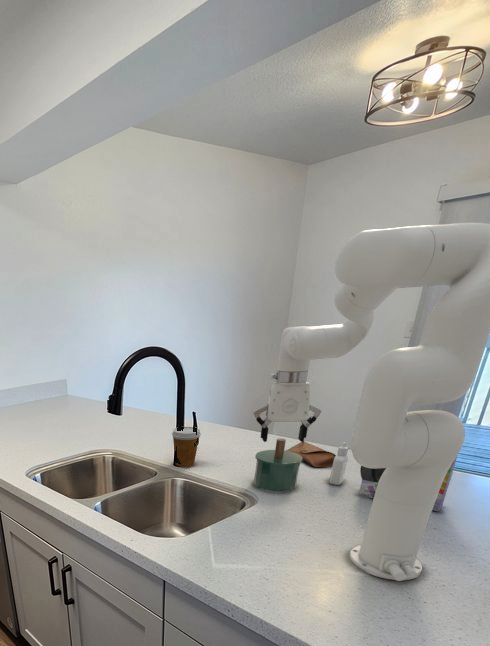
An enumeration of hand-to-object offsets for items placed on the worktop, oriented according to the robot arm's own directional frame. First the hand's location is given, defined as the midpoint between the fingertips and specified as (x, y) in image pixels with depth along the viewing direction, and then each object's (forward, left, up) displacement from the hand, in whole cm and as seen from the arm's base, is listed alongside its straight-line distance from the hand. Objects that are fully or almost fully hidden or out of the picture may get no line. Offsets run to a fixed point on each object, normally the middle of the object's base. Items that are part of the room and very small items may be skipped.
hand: (282, 440), depth 123 cm
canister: (+1, 0, -14) cm, 14 cm away
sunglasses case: (+26, -15, -14) cm, 33 cm away
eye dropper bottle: (+5, -18, -14) cm, 23 cm away
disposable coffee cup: (+19, +26, -14) cm, 35 cm away
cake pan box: (-8, -29, -14) cm, 33 cm away
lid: (+1, 0, -6) cm, 6 cm away
